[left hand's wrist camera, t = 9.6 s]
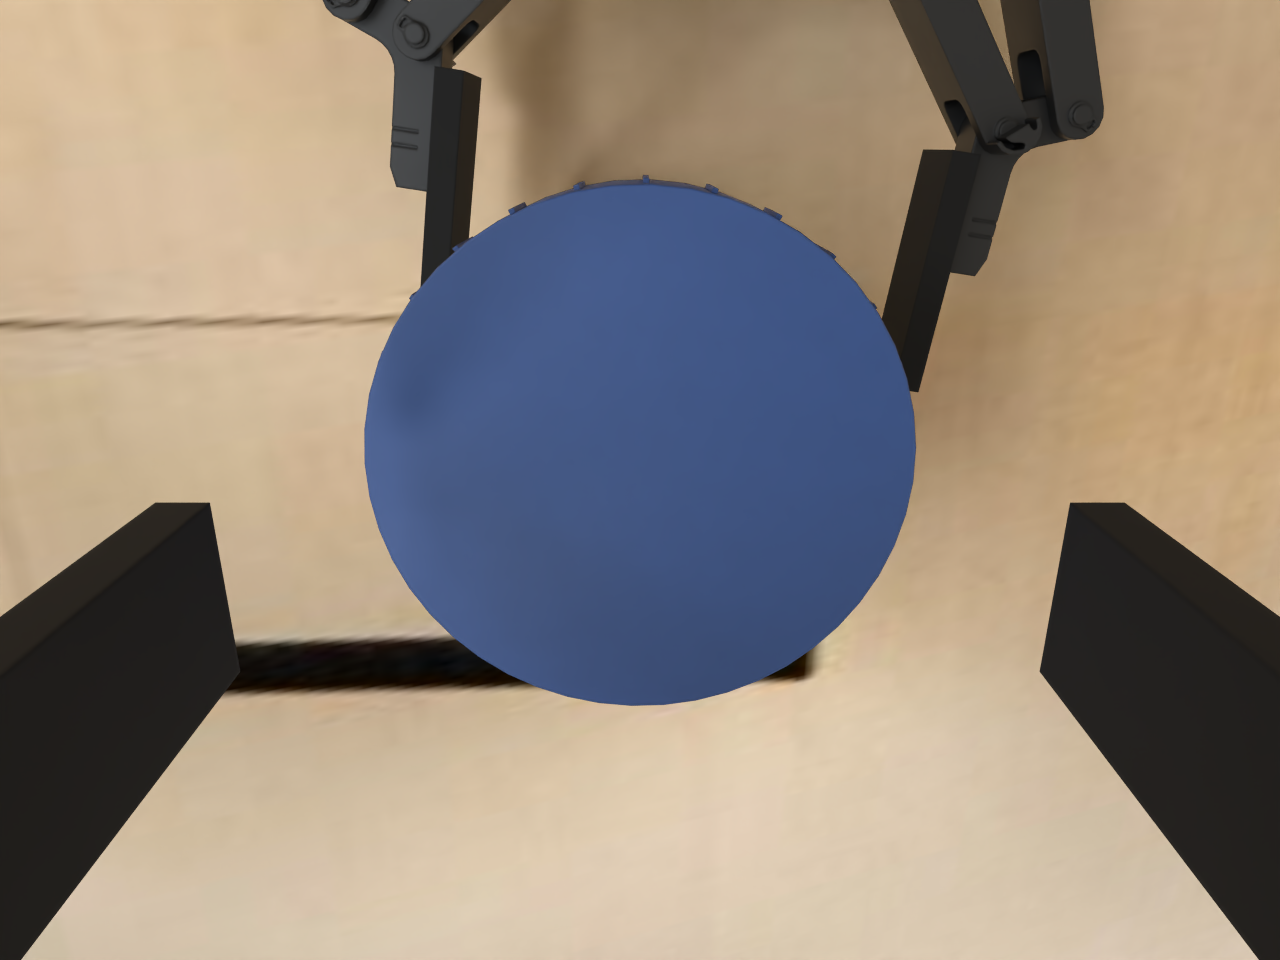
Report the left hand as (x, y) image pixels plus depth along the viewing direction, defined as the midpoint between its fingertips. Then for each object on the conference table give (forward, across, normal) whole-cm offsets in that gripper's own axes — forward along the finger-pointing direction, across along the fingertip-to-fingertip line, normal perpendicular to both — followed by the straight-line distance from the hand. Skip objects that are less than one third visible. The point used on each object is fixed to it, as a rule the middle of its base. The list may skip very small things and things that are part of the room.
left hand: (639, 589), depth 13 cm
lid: (+5, 0, 0) cm, 5 cm away
